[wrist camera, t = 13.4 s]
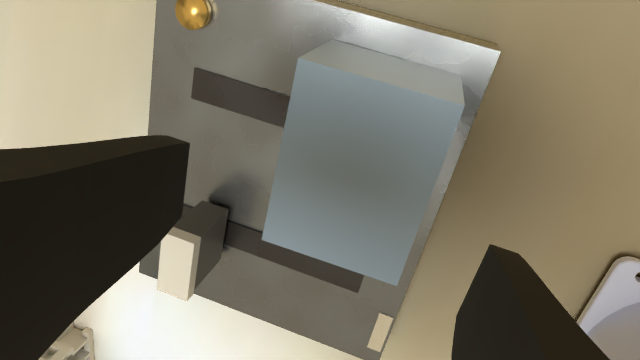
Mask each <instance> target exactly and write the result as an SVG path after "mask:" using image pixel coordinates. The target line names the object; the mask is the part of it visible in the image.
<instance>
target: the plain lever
mask: <svg viewBox="0 0 640 360" xmlns="http://www.w3.org/2000/svg"><path fill="white" fill-rule="evenodd" d="M228 210H229V209H226V208H223V207H220V206H217V205H214V204H212V203H209V202H206V201H203V200H202V201H201V202H200V203H199V204H197V205H196V206H195V207H194V208H193V209H191V210H190V211H189V212H188V213H187V214H186V215H184V216H183V217H182V218H181V219H180V220H178V221H177V223H176V224H175V225H174V226H173V228H172V229H171V230H170V231H169V232H168V234H167V235H166V236H165V237H164V238H163V239H162V241H161V248H160V259H159V271H158V282H157V290H160V291H162V292H165V293H167V294H170V295H172V296H175V297H177V298H180V299H182V300H185V301H188V299H189V298H190V297H191V296H192V295H193V294H194V290H195V289H196V288H197V286H198V285H199V284H200V283H201V282H202V281H203V279H204V278H205V277H206V276H207V275H208V274H209V272H210V271H211V270H212V269H213V268H214V267H215V265H216V264H217V263H218V262H219V261H220V260H221V254H222V247H223V241H224V235H225V229H226V222H227V216H228Z"/></svg>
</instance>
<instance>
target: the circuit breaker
mask: <svg viewBox="0 0 640 360" xmlns="http://www.w3.org/2000/svg"><path fill="white" fill-rule="evenodd" d="M39 360H95V356H94V344H93V332H92V329H90V328H87V327H86V328H85V329H84V330H83V331H82V330H79V329H76V328H74V323H71V324H70V325H69V327H68V328H67V329H66V330H65V331H64V332H63V333H62V334H61V335H60V336H59V337H58V339H57V340H56V341H55V342H54V343H53V344H52V345H51V346H50V347H49V348H48V349H47V350H46V352H45V353H44V354H43V355H42V356H41V357H40V358H39Z"/></svg>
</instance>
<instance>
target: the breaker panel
mask: <svg viewBox="0 0 640 360" xmlns="http://www.w3.org/2000/svg"><path fill="white" fill-rule="evenodd" d="M330 40H336V41H339V42H343V43H346V44H350V45H354V46H357V47H361V48H364V49H368V50H372V51H375V52H379V53H383V54H386V55H390V56H393V57H397V58H401V59H404V60H408V61H411V62H415V63H419V64H422V65H426V66H429V67H433V68H437V69H440V70H444V71H447V72H451V73H455V74H458V75H461V80H462V87H463V95H464V102H465V106H464V109H463V112H462V114H461V117H460V120H459V122H458V125H457V128H456V130H455V133H454V136H453V138H452V141H451V144H450V146H449V149H448V152H447V154H446V157H445V160H444V162H443V165H442V167H441V170H440V173H439V175H438V178H437V181H436V183H435V186H434V189H433V191H432V194H431V197H430V199H429V202H428V205H427V207H426V210H425V213H424V215H423V218H422V221H421V223H420V226H419V229H418V231H417V234H416V236H415V239H414V242H413V244H412V247H411V250H410V252H409V255H408V258H407V260H406V263H405V266H404V268H403V271H402V274H401V276H400V279H399V282H398V284H397V286H395V285H392V284H389V283H386V282H383V281H380V280H378V279H375V278H372V277H369V276H366V275H363V274H360V273H357V272H354V271H351V270H348V269H345V268H342V267H340V266H337V265H334V264H331V263H328V262H325V261H322V260H319V259H316V258H313V257H310V256H307V255H304V254H302V253H299V252H296V251H293V250H290V249H287V248H284V247H281V246H278V245H275V244H272V243H269V242H267V241H264V240H262V235H263V230H264V225H265V220H266V215H267V210H268V205H269V200H270V195H271V190H272V186H273V181H274V176H275V171H276V166H277V161H278V156H279V151H280V146H281V141H282V136H283V131H284V126H285V121H286V116H287V111H288V106H289V101H290V96H291V91H292V86H293V81H294V76H295V71H296V66H297V61H298V58H299V57H300V56H302V55H304V54H306V53H308V52H310V51H312V50H314V49H315V48H317V47H319V46H321V45H323V44H325V43H327V42H328V41H330ZM500 52H501V51H500V49H499V47H498V46H497V44H495V43H492V42H488V41H484V40H481V39H477V38H473V37H469V36H466V35H462V34H458V33H455V32H451V31H447V30H444V29H440V28H436V27H433V26H429V25H425V24H421V23H418V22H414V21H410V20H407V19H403V18H399V17H396V16H392V15H388V14H385V13H381V12H377V11H373V10H370V9H366V8H362V7H359V6H355V5H351V4H348V3H344V2H340V1H337V0H157V3H156V19H155V34H154V50H153V65H152V80H151V96H150V111H149V127H148V136H152V135H168V136H171V137H174V138H177V139H180V140H183V141H186V142H188V143H190V149H189V158H188V167H187V176H186V185H185V194H184V204H183V213H182V216H181V218H182V217H183V216H184V215H186V214H187V213H188V212H189V211H190V210H191V209H193V208H194V207H195V206H196V205H197V204H199V203H200V202H201V201H202V200H203V201H206V202H209V203H212V204H214V205H217V206H220V207H223V208H226V209H229V210H228V216H227V222H226V229H225V235H224V241H223V247H222V254H221V260H220V261H219V262H218V263H217V264H216V265H215V267H214V268H213V269H212V270H211V271H210V272H209V274H208V275H207V276H206V277H205V278H204V279H203V281H202V282H201V283H200V284H199V285H198V286H197V288H196V289H195V290H194V294H197V295H199V296H202V297H204V298H207V299H209V300H212V301H215V302H217V303H220V304H222V305H225V306H227V307H230V308H232V309H235V310H238V311H240V312H243V313H245V314H248V315H250V316H253V317H256V318H258V319H261V320H263V321H266V322H268V323H271V324H274V325H276V326H279V327H281V328H284V329H286V330H289V331H292V332H294V333H297V334H299V335H302V336H304V337H307V338H310V339H312V340H315V341H317V342H320V343H322V344H325V345H328V346H330V347H333V348H335V349H338V350H340V351H343V352H346V353H348V354H351V355H353V356H356V357H358V358H361V359H364V360H380V357H381V355H382V352H383V349H384V347H385V344H386V342H387V339H388V337H389V334H390V332H391V329H392V327H393V324H394V322H395V319H396V316H397V314H398V311H399V309H400V306H401V304H402V301H403V299H404V296H405V294H406V291H407V289H408V286H409V283H410V281H411V278H412V276H413V273H414V271H415V268H416V266H417V263H418V261H419V258H420V256H421V253H422V250H423V248H424V245H425V243H426V240H427V238H428V235H429V233H430V230H431V228H432V225H433V223H434V220H435V217H436V215H437V212H438V210H439V207H440V205H441V202H442V200H443V197H444V195H445V192H446V190H447V187H448V184H449V182H450V179H451V177H452V174H453V172H454V169H455V167H456V164H457V162H458V159H459V157H460V154H461V151H462V149H463V146H464V144H465V141H466V139H467V136H468V134H469V131H470V129H471V126H472V124H473V121H474V118H475V116H476V113H477V111H478V108H479V106H480V103H481V101H482V98H483V96H484V93H485V91H486V88H487V85H488V83H489V80H490V78H491V75H492V73H493V70H494V68H495V65H496V63H497V60H498V58H499V55H500ZM181 218H180V219H181ZM180 219H179V220H180ZM160 248H161V242H160V243H159V244H158V245H157V246H156V247H155V248H154V249H153V250H152V251H150V252H149V253H148V254H147V255H146V256H145V257H144V258H143V259H142V260H140V266H139V272H140V273H143V274H145V275H148V276H150V277H153V278H155V279H158V271H159V259H160Z"/></svg>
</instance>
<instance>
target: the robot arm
mask: <svg viewBox="0 0 640 360" xmlns="http://www.w3.org/2000/svg"><path fill="white" fill-rule="evenodd" d="M189 149H190V143H188V142H186V141H183V140H180V139H177V138H174V137H171V136H168V135H152V136H139V137H129V138H121V139H113V140H104V141H96V142H88V143H79V144H68V145H57V146H46V147H36V148H21V149H0V360H39V358H40V357H41V356H42V355H43V354H44V353H45V352H46V350H47V349H48V348H49V347H50V346H51V345H52V344H53V343H54V342H55V341H56V340H57V339H58V337H59V336H60V335H61V334H62V333H63V332H64V331H65V330H66V329H67V328H68V327H69V325H70V324H71V323H72V322H73V321H74V320H75V319H76V318H77V317H78V316H79V315H80V314H81V313H82V312H83V311H84V310H85V309H86V308H87V307H89V306H90V305H91V304H92V303H93V302H94V301H95V300H96V299H97V298H99V297H100V296H101V295H102V294H103V293H104V292H105V291H107V290H108V289H109V288H110V287H111V286H112V285H113V284H114V283H116V282H117V281H118V280H119V279H120V278H121V277H122V276H124V275H125V274H126V273H127V272H128V271H129V270H130V269H132V268H133V267H134V266H135V265H136V264H137V263H138V262H139V261H140V260H142V259H143V258H144V257H145V256H146V255H147V254H148V253H149V252H150V251H152V250H153V249H154V248H155V247H156V246H157V245H158V244H159V243H160V242H161V241H162V239H163V238H164V237H165V236H166V235H167V234H168V232H169V231H170V230H171V229H172V228H173V226H174V225H175V224H176V223H177V221H178V220H179V219H180V218H181V216H182V213H183V204H184V194H185V185H186V176H187V167H188V158H189ZM638 272H640V259H637V258H634V257H629V256H626V257H621V258H619V259H617V260H616V261H615V262H614V263H613V264H612V266H611V267H610V269H609V270H608V272H607V274H606V275H605V277H604V278H603V280H602V282H601V283H600V285H599V286H598V288H597V289H596V291H595V293H594V294H593V296H592V297H591V299H590V301H589V302H588V304H587V305H586V307H585V309H584V310H583V312H582V313H581V315H580V317H579V318H578V320H577V321H576V322H575V320H574V319H573V318H572V317H571V316H570V315H569V313H568V312H567V311H566V310H565V309H564V307H563V306H562V305H561V304H560V302H559V301H558V300H557V299H556V298H555V296H554V295H553V294H552V293H551V291H550V290H549V289H548V288H547V286H546V285H545V284H544V283H543V281H542V280H541V279H540V278H539V277H538V275H537V274H536V273H535V272H534V270H533V269H532V268H531V267H530V266H529V264H528V263H527V262H526V261H525V260H524V259H523V258H522V257H521V256H520V255H519V254H518V253H515V252H512V251H509V250H506V249H503V248H500V247H497V246H494V245H491V244H490V245H489V247H488V250H487V252H486V254H485V256H484V258H483V260H482V262H481V265H480V267H479V269H478V271H477V273H476V275H475V277H474V279H473V282H472V284H471V286H470V288H469V290H468V292H467V294H466V296H465V299H464V301H463V303H462V305H461V307H460V309H459V311H458V314H457V316H456V324H455V331H454V338H453V347H452V360H640V277H635V276H636V274H637V273H638Z"/></svg>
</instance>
